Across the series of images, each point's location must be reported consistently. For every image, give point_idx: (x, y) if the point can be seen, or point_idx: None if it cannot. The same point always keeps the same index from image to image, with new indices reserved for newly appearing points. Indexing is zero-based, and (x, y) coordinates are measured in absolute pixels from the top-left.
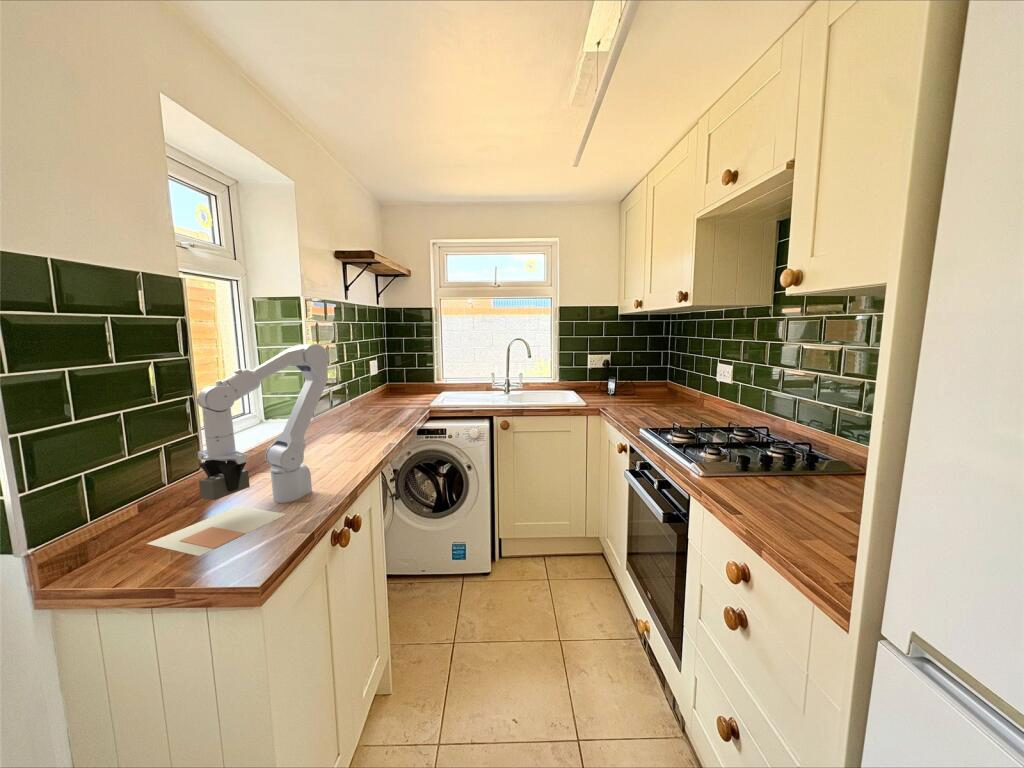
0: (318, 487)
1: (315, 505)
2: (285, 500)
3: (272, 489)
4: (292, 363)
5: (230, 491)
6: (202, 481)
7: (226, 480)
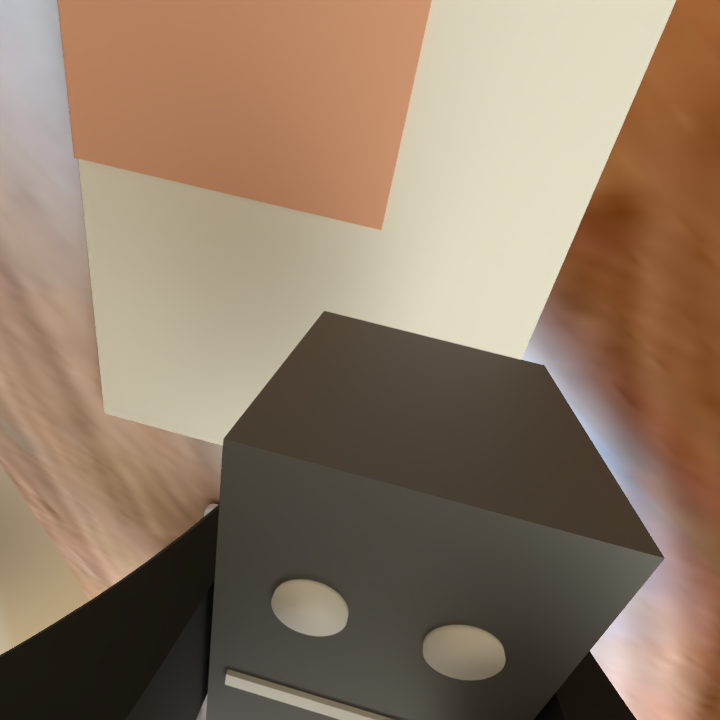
0: None
1: (107, 511)
2: None
3: None
4: None
5: None
6: (532, 509)
7: (192, 558)
